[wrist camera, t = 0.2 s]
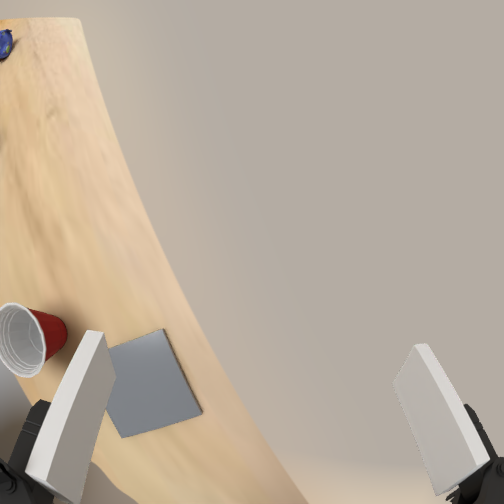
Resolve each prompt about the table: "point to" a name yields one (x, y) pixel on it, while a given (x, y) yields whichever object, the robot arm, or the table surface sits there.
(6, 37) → the pencil case
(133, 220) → the table surface
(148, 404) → the slate tile
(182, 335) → the table surface
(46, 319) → the plastic cup
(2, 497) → the robot arm
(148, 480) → the table surface
